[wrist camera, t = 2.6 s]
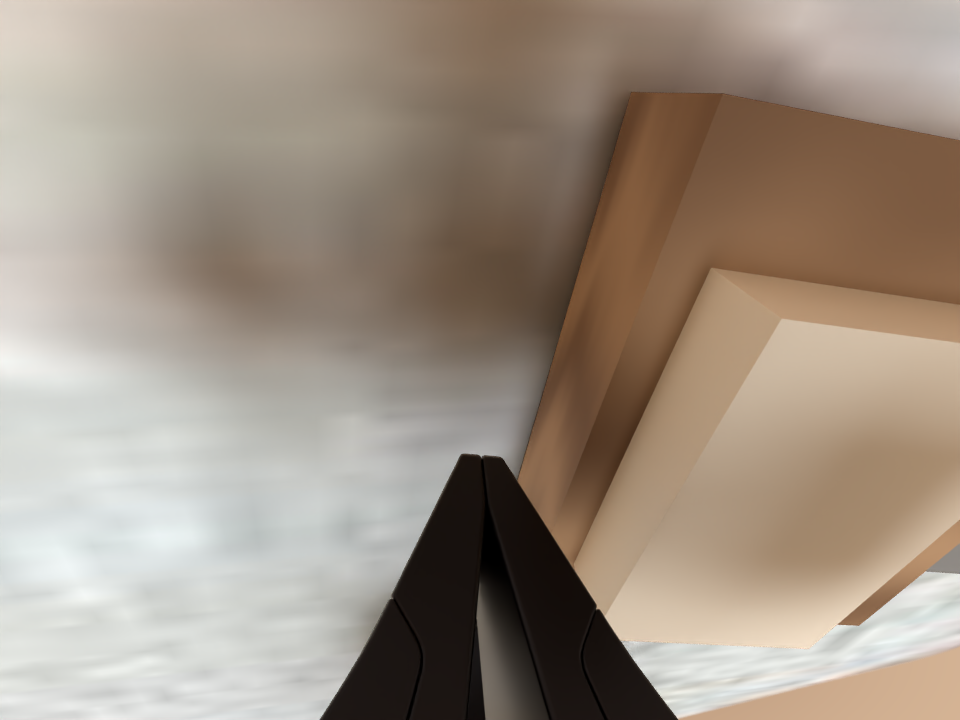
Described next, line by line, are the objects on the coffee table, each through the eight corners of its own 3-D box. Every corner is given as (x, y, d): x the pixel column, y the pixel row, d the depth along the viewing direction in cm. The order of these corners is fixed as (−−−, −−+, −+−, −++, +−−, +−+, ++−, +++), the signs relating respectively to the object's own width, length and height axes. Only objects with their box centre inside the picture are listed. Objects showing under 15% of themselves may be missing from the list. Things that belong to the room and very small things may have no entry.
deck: (785, 526, 18) (859, 625, 15) (510, 504, 17) (521, 608, 14) (1078, 178, 11) (1355, 219, 7) (631, 92, 10) (722, 93, 6)
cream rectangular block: (763, 575, 13) (808, 649, 11) (573, 564, 12) (591, 638, 11) (999, 310, 8) (1136, 367, 7) (710, 267, 8) (781, 318, 6)
